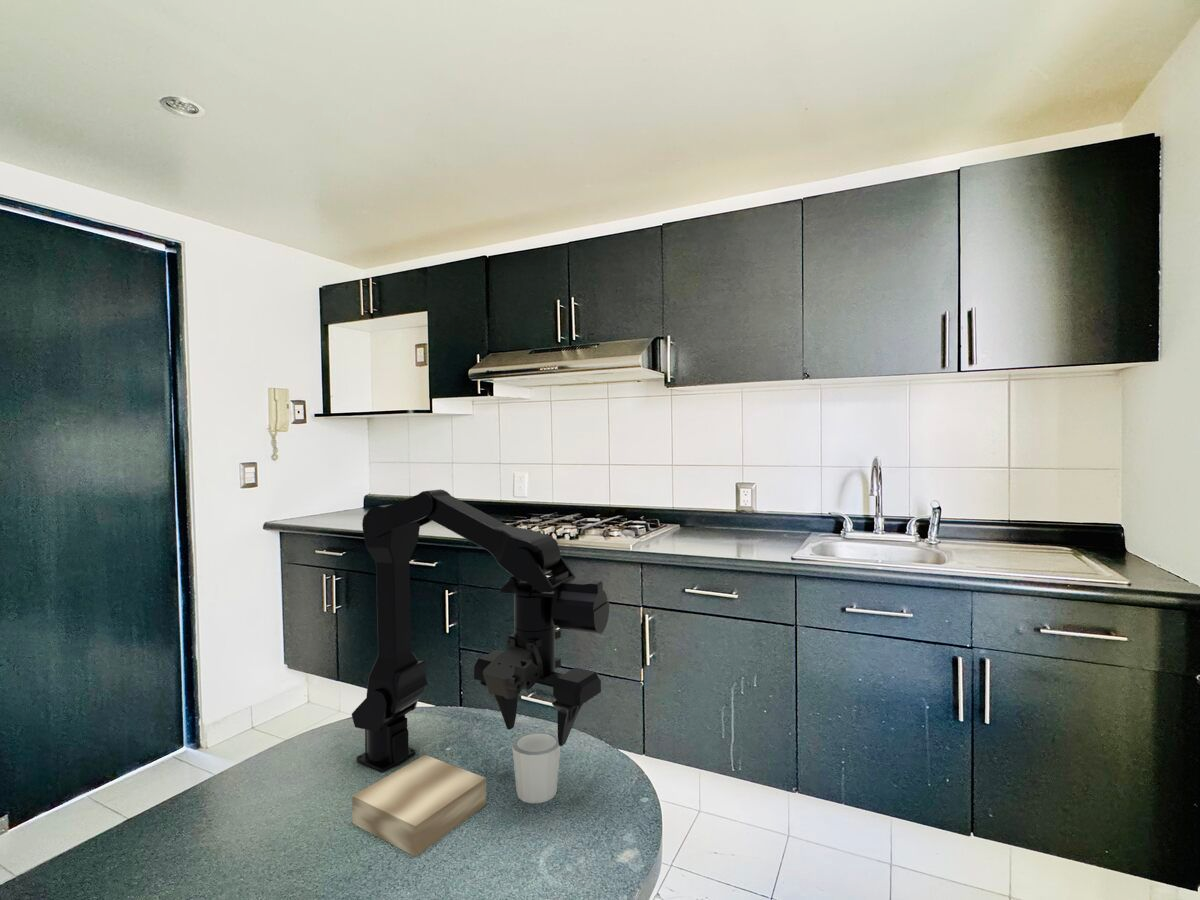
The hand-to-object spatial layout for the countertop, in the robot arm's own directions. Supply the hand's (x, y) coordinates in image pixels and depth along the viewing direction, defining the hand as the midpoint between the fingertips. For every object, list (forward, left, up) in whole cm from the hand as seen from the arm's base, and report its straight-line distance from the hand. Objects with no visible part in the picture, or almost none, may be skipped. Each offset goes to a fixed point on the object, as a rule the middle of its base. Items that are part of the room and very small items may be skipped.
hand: (535, 736), depth 83 cm
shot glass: (0, 0, -8) cm, 8 cm away
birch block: (-10, -12, -8) cm, 18 cm away
